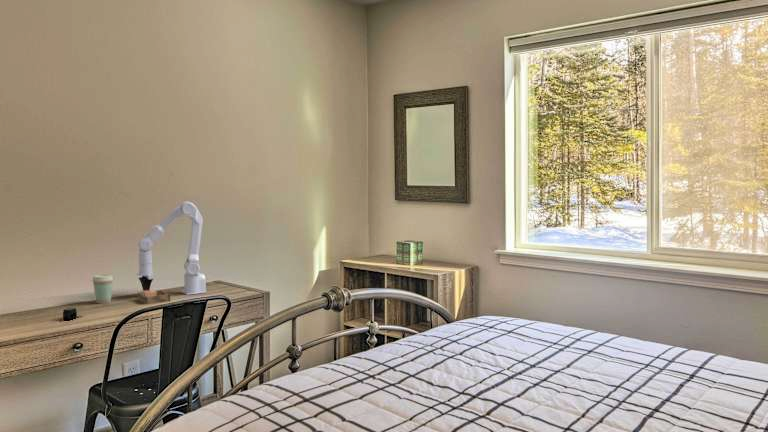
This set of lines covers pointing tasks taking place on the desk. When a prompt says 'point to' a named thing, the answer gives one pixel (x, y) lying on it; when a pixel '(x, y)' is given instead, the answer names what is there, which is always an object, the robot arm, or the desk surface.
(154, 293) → the salmon pink block
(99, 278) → the coffee cup
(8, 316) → the desk surface
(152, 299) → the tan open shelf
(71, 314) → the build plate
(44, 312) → the desk surface
